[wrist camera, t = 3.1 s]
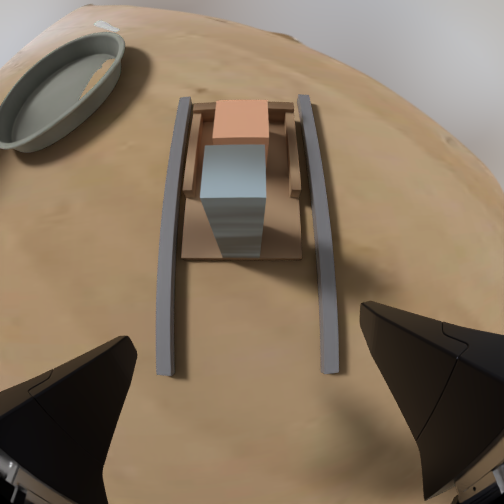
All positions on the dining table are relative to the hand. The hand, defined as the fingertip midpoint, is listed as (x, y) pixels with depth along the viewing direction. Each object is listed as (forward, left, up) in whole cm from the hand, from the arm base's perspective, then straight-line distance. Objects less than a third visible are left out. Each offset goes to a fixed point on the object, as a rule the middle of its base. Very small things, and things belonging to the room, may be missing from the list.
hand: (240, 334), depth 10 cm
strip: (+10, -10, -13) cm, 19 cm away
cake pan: (+43, -3, -13) cm, 45 cm away
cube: (+12, -12, -12) cm, 21 cm away
